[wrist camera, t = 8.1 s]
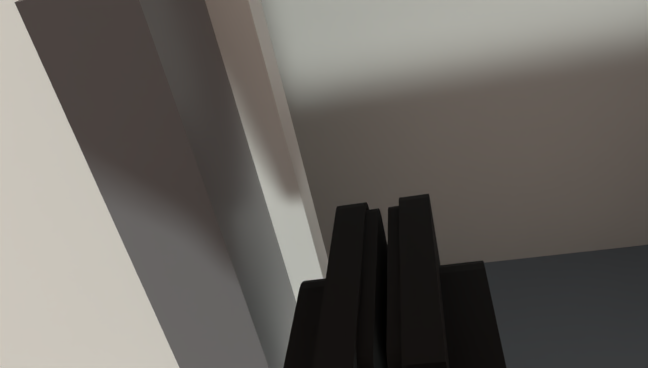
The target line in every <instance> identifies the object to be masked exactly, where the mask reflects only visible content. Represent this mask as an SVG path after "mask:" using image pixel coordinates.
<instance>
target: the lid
mask: <svg viewBox="0 0 648 368" xmlns="http://www.w3.org/2000/svg"><path fill="white" fill-rule="evenodd" d="M327 266H328V258H327V254H326V250H325V246H324V243H323V239H322V235H321V231H320V227H319V223H318V219H317V216H316V212H315V208H314V204H313V200H312V196H311V193H310V189H309V185H308V181H307V177H306V173H305V169H304V166H303V162H302V158H301V154H300V150H299V146H298V142H297V139H296V135H295V131H294V127H293V123H292V119H291V116H290V112H289V108H288V104H287V100H286V96H285V92H284V89H283V85H282V81H281V77H280V73H279V69H278V66H277V62H276V58H275V54H274V50H273V46H272V42H271V39H270V35H269V31H268V27H267V23H266V19H265V15H264V12H263V8H262V4H261V0H0V368H283V366H284V361H285V357H286V352H287V347H288V342H289V337H290V332H291V327H292V322H293V317H294V312H295V307H296V303H297V298H298V293H299V288H300V285H301V283H302V282H303V281H307V280H316V279H324V278H326V273H327Z"/></svg>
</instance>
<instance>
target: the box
mask: <svg viewBox="0 0 648 368" xmlns="http://www.w3.org/2000/svg"><path fill="white" fill-rule="evenodd" d="M261 4H262V8H263V12H264V15H265V19H266V23H267V27H268V31H269V35H270V39H271V42H272V46H273V50H274V54H275V58H276V62H277V66H278V69H279V73H280V77H281V81H282V85H283V89H284V92H285V96H286V100H287V104H288V108H289V112H290V116H291V119H292V123H293V127H294V131H295V135H296V139H297V142H298V146H299V150H300V154H301V158H302V162H303V166H304V169H305V173H306V177H307V181H308V185H309V189H310V193H311V196H312V200H313V204H314V208H315V212H316V216H317V219H318V223H319V227H320V231H321V235H322V239H323V243H324V246H325V250H326V254H327V258H328V259H329V253H330V246H331V239H332V232H333V226H334V219H335V212H336V207H337V206H342V205H349V204H356V203H364V202H367V204H368V206H369V210H370V209H378V208H379V209H380V212H381V216H382V221H383V226H384V231H385V236H386V240H387V245H388V207H393V206H399V198H400V197H407V196H415V195H422V194H429V196H430V202H431V208H432V214H433V221H434V227H435V233H436V240H437V246H438V252H439V259H440V265H447V264H456V263H464V262H473V261H482V260H483V262H484V265H485V270H486V274H487V279H488V284H489V288H490V293H491V298H492V302H493V307H494V312H495V316H496V321H497V326H498V330H499V335H500V340H501V344H502V349H503V354H504V358H505V363H506V368H648V0H261Z"/></svg>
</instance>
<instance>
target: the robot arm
mask: <svg viewBox="0 0 648 368" xmlns="http://www.w3.org/2000/svg"><path fill="white" fill-rule="evenodd" d="M283 368H506V363H505V358H504V354H503V349H502V344H501V340H500V335H499V330H498V326H497V321H496V316H495V312H494V307H493V302H492V298H491V293H490V288H489V284H488V279H487V274H486V270H485V265H484V262H483V260H482V261H473V262H464V263H456V264H447V265H440V259H439V252H438V246H437V240H436V233H435V227H434V221H433V214H432V208H431V202H430V196H429V194H422V195H415V196H407V197H400V198H399V206H393V207H388V245H387V240H386V236H385V231H384V226H383V221H382V216H381V212H380V209H379V208H378V209H370V210H369V206H368V204H367V202H364V203H356V204H349V205H342V206H337V207H336V212H335V219H334V226H333V232H332V239H331V246H330V253H329V259H328V266H327V273H326V278H324V279H316V280H307V281H303V282H302V283H301V285H300V288H299V293H298V298H297V303H296V307H295V312H294V317H293V322H292V327H291V332H290V337H289V342H288V347H287V352H286V357H285V361H284V366H283Z"/></svg>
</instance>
